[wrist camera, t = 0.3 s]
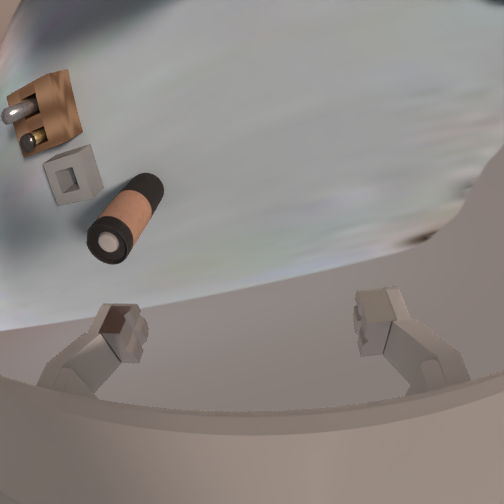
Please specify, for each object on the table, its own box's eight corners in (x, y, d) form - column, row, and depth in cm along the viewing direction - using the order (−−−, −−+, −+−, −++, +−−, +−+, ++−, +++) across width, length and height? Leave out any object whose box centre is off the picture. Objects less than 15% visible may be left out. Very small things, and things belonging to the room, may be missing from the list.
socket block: (27, 89, 46) (6, 96, 40) (67, 69, 45) (46, 74, 39) (42, 146, 54) (23, 158, 48) (82, 132, 53) (64, 142, 47)
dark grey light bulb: (41, 125, 48) (17, 137, 42) (53, 120, 48) (29, 132, 42) (46, 140, 51) (22, 154, 44) (58, 136, 50) (35, 149, 44)
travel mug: (172, 197, 61) (138, 257, 45) (142, 210, 63) (103, 270, 47) (153, 165, 57) (110, 216, 41) (124, 180, 59) (76, 233, 43)
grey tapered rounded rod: (44, 94, 47) (-1, 111, 36) (54, 89, 47) (9, 105, 36) (47, 107, 49) (4, 126, 38) (57, 102, 49) (13, 121, 37)
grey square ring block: (55, 155, 55) (42, 163, 51) (90, 144, 54) (78, 152, 50) (69, 195, 61) (58, 205, 57) (104, 187, 60) (93, 198, 56)
